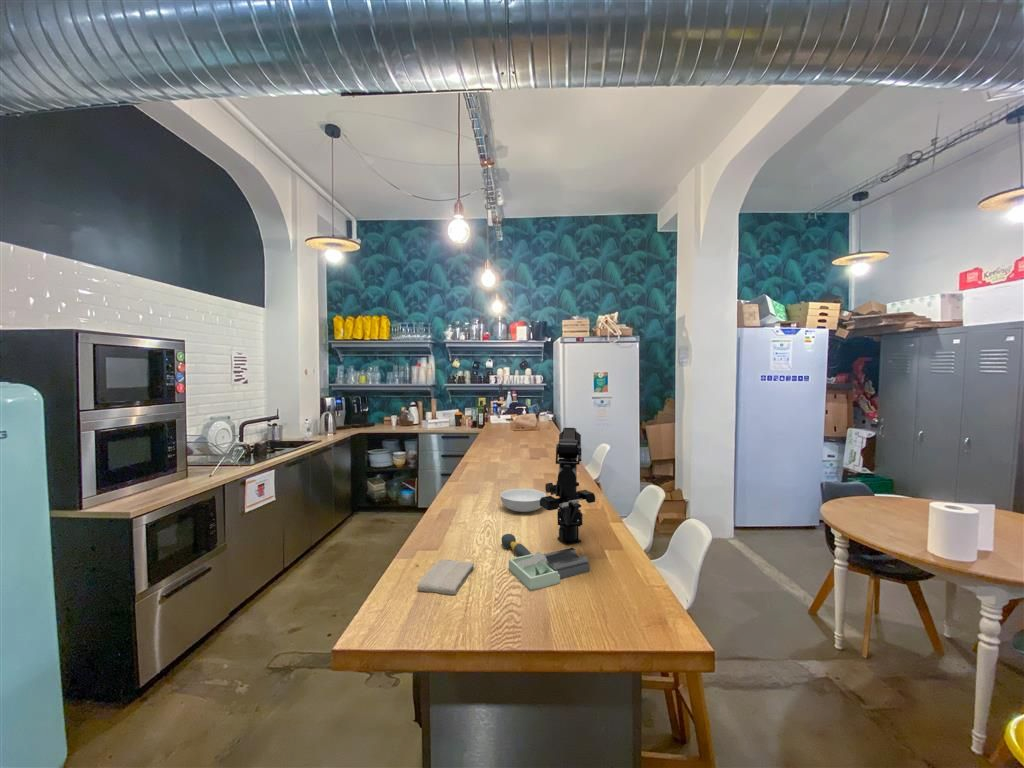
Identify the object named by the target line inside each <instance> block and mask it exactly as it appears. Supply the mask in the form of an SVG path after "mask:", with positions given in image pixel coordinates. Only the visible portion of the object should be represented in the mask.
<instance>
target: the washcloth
mask: <svg viewBox="0 0 1024 768" xmlns="http://www.w3.org/2000/svg"><path fill="white" fill-rule="evenodd" d="M474 565H475V563H474V562H472V561H459V560H458V561H457V560H455V559H444V558H442V559H439V561H437V562H436V563H435V564H432V566H431V567H430V569H429V570H427V572H426V573H425V574H424V575H423V577H422V578H421V579H420V580H419V582H418V584H417V590H418V591H419V592H425V593H438V594H443V595H451V596H455V595H457V594H458V592H459V591H460V589H461V588H462V586H463V585H464V583H465V581H467V578H468V577H469V575H470V574H472V573H473V571H474V569H475V567H474Z"/></svg>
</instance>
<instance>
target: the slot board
mask: <svg viewBox="0 0 1024 768" xmlns="http://www.w3.org/2000/svg"><path fill="white" fill-rule="evenodd" d="M542 554H543V555H544V556H545V557H546V559H547V561H548V563H549V565H550V568H551V569H553V570H554V571H558V574H559V575H560V580H562V579H565V578H568V577H573V576H577V575H580V574H584V573H589V572H590V567H591V566H590V565H591V563H589V557H588V556H586V555H583V556H579V555H578V554H576V549H575V548H574V547H570V548H566V549H564V548H563V549H561V550H557V551H552V552H548V553H542Z"/></svg>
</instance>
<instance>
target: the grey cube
mask: <svg viewBox="0 0 1024 768" xmlns="http://www.w3.org/2000/svg"><path fill="white" fill-rule="evenodd" d="M543 554H544V553H542V552H541V551H537V552H536V553H535V555H533V556H532V557H531V558H530V560H531V561H533V562H534V563H535V570H536V571H537V572H538V573H539V574H540V575H541V574H542V573H543V572H544V571H546V570H547V569H548V568H549V567H550V565H549V563H548V561H547V559H546V557H545V556H544V555H543Z"/></svg>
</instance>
